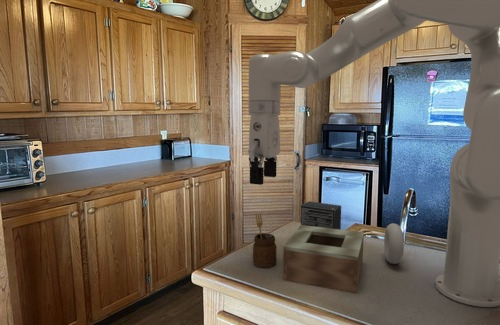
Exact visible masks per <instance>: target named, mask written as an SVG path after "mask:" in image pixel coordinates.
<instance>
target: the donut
mask: <svg viewBox="0 0 500 325" xmlns="http://www.w3.org/2000/svg"><path fill="white" fill-rule="evenodd" d="M404 241H405V240H404V233H403V230H402V228H401V226H400V225H399V224H397V223H390V224H388V225H387V226H386V228H385V231H384V240H383V242H384V243H383V244H384V245H383V250H384V256H385V259H386V261H387V262H388V263H390V264H391V265H397V264H399V263H400V262H401V261H402V259H403V256H404V250H405V249H404V248H405V247H404V246H405V242H404Z"/></svg>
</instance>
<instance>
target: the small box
mask: <svg viewBox="0 0 500 325" xmlns="http://www.w3.org/2000/svg"><path fill="white" fill-rule="evenodd" d="M300 209H301V210H300V225H306V226H314V227H323V228H331V229H340V230H342V227H341V225H342V223H341V222H342V205H338V204H330V203H324V202H316V201H307V202H305V203H302V204H301V205H300Z"/></svg>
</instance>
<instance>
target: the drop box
mask: <svg viewBox="0 0 500 325" xmlns="http://www.w3.org/2000/svg"><path fill="white" fill-rule="evenodd" d="M364 236H365V232H364V231H357V230H349V229H348V230H347V229H341V230H340V229H331V228H323V227H314V226H306V225H301V224H300V225H299V226H298V228H297V229H296V230H295V231H294V233H293V234H292V235H291V236H290V238H289V239H288V240H287V242H286V243H285V244H284V245H283V252H282V253H283V260H282V261H283V270H282V273H283V274H282V277H283V278H282V280H283V281H286V282H292V283H293V282H294V283H298V284H303V285H309V286H315V287H321V288H326V289H332V290H337V291H345V292H349V293H354V294H356V293H357V291H358V287H359V283H360V278H361V273H362V268H363V260H364V259H363V258H364V241H365V239H364Z"/></svg>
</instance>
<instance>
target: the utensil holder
mask: <svg viewBox="0 0 500 325" xmlns="http://www.w3.org/2000/svg"><path fill="white" fill-rule="evenodd" d="M255 222H256V227H257V228H258V229H259V233H258V234H256V235H255V236H254V238H253V240H254V242H253V246H252V262H253V264H254V265H255V266H256V267H258V268H265V269H267V268H268V269H269V268H272V267H274V266H275V265H276V263H277V252H278V251H277V244H276V237H275V236H274V234H273V232H274V231H273V230H274V228H273V225H272V223H269V226H270V227H269V231H267V232H262V230H267V229H266V228H267V227H266V226H267V224H264V226H263V218H262V213H260V214H259V213H257V214H256V213H255ZM262 226H263V229H262Z"/></svg>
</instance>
